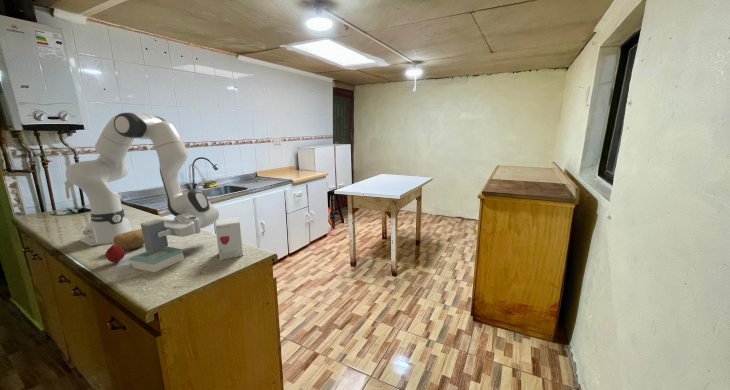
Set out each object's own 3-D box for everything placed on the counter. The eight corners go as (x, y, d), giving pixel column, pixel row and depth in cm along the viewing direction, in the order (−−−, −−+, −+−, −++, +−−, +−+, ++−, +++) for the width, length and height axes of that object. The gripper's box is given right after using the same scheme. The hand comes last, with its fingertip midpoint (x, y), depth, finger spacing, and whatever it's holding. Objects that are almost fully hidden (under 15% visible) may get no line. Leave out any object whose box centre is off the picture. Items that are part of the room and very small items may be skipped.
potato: (157, 244, 136) (154, 227, 134) (122, 255, 123) (119, 237, 122) (145, 240, 140) (142, 225, 138) (110, 251, 127) (106, 234, 126)
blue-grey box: (145, 250, 112) (140, 223, 109) (161, 244, 117) (156, 218, 115) (153, 251, 110) (147, 224, 108) (168, 245, 116) (163, 219, 114)
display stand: (132, 267, 112) (130, 256, 111) (163, 255, 123) (161, 245, 122) (154, 272, 108) (152, 261, 107) (183, 259, 119) (182, 249, 118)
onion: (115, 266, 113) (111, 247, 111) (103, 265, 114) (99, 246, 112) (130, 260, 119) (126, 241, 117) (118, 259, 120) (114, 240, 118)
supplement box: (219, 260, 117) (215, 225, 114) (219, 252, 125) (214, 219, 122) (243, 256, 121) (239, 222, 118) (241, 248, 129) (238, 216, 126)
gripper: (166, 214, 127) (132, 224, 115) (201, 218, 120) (169, 229, 108) (168, 228, 129) (135, 239, 116) (203, 233, 122) (172, 245, 109)
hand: (152, 234), depth 112 cm, fingers closed on blue-grey box, 4 cm apart
